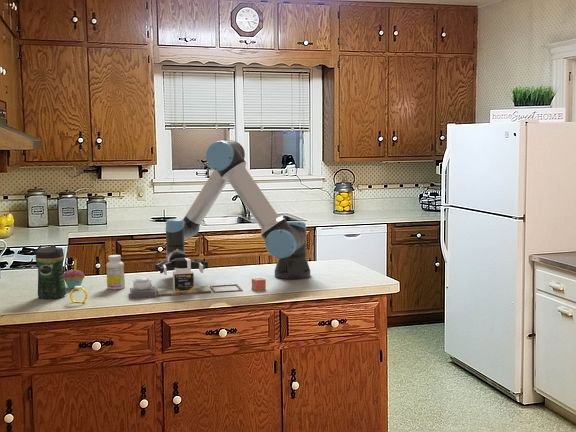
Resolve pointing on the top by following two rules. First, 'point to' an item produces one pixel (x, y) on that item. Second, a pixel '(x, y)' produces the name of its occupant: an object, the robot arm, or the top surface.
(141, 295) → the popper base
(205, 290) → the track
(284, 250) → the robot arm
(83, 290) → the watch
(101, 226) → the top surface
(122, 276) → the supplement bottle
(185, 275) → the medicine bottle
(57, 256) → the coffee jar
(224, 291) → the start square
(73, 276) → the cupcake
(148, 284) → the dome
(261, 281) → the die
